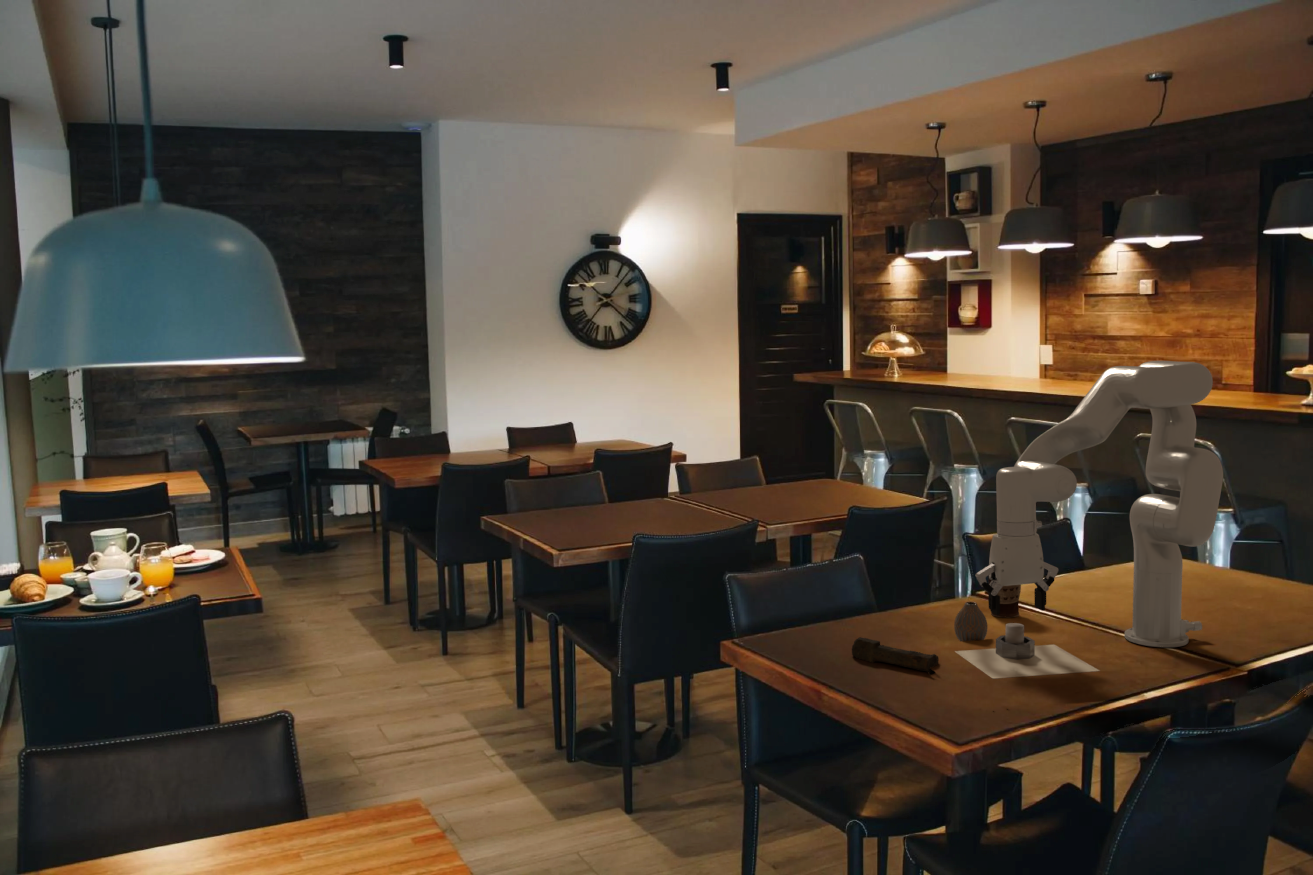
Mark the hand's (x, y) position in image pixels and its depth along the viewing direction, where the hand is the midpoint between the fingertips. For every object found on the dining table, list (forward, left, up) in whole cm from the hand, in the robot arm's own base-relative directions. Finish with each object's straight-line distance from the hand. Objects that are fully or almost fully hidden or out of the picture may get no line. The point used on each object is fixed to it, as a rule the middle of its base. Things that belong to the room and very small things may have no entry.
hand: (1017, 610), depth 226 cm
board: (+1, +5, -11) cm, 11 cm away
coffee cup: (-13, -33, -11) cm, 37 cm away
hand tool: (+26, -3, -11) cm, 28 cm away
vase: (+4, -14, -11) cm, 18 cm away
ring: (+1, 0, -9) cm, 9 cm away
